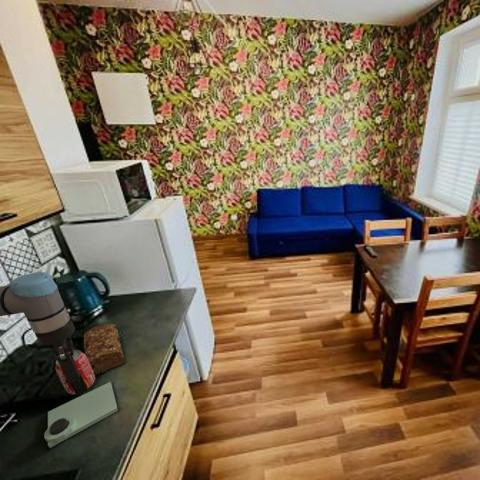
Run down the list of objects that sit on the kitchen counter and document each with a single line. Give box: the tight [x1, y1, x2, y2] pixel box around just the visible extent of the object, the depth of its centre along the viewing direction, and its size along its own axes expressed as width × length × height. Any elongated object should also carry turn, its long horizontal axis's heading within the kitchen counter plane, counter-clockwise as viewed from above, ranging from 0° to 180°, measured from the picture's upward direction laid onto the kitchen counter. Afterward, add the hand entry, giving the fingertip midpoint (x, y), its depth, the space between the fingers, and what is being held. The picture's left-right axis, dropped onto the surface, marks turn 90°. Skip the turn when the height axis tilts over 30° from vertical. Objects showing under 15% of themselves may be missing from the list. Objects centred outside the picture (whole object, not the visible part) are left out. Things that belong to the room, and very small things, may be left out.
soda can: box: [54, 349, 96, 395], centre depth 81 cm, size 7×7×12 cm
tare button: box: [50, 418, 68, 435], centre depth 77 cm, size 4×4×2 cm
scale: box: [43, 381, 119, 449], centre depth 84 cm, size 16×14×3 cm
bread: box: [83, 323, 125, 376], centre depth 104 cm, size 19×11×10 cm, turn 40°
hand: (81, 383), depth 83 cm, fingers closed on soda can, 7 cm apart
